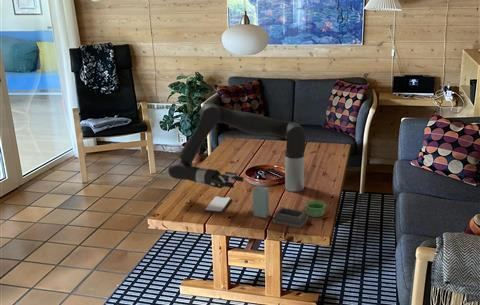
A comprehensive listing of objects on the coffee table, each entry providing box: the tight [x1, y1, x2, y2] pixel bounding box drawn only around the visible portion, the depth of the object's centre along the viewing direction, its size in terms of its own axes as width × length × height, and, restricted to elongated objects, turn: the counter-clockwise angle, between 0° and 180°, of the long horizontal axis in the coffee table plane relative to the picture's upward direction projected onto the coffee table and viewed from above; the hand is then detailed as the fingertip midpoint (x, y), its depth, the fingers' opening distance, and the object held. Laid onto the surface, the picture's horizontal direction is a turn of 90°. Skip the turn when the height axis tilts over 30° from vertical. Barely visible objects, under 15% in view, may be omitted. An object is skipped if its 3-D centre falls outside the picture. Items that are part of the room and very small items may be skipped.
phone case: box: [204, 195, 232, 214], centre depth 242 cm, size 9×2×16 cm
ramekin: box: [305, 200, 327, 218], centre depth 231 cm, size 9×9×4 cm
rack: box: [271, 206, 309, 229], centre depth 224 cm, size 9×13×4 cm
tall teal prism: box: [252, 185, 270, 219], centre depth 229 cm, size 4×6×13 cm, turn 61°
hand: (238, 182), depth 232 cm, fingers open, 8 cm apart
